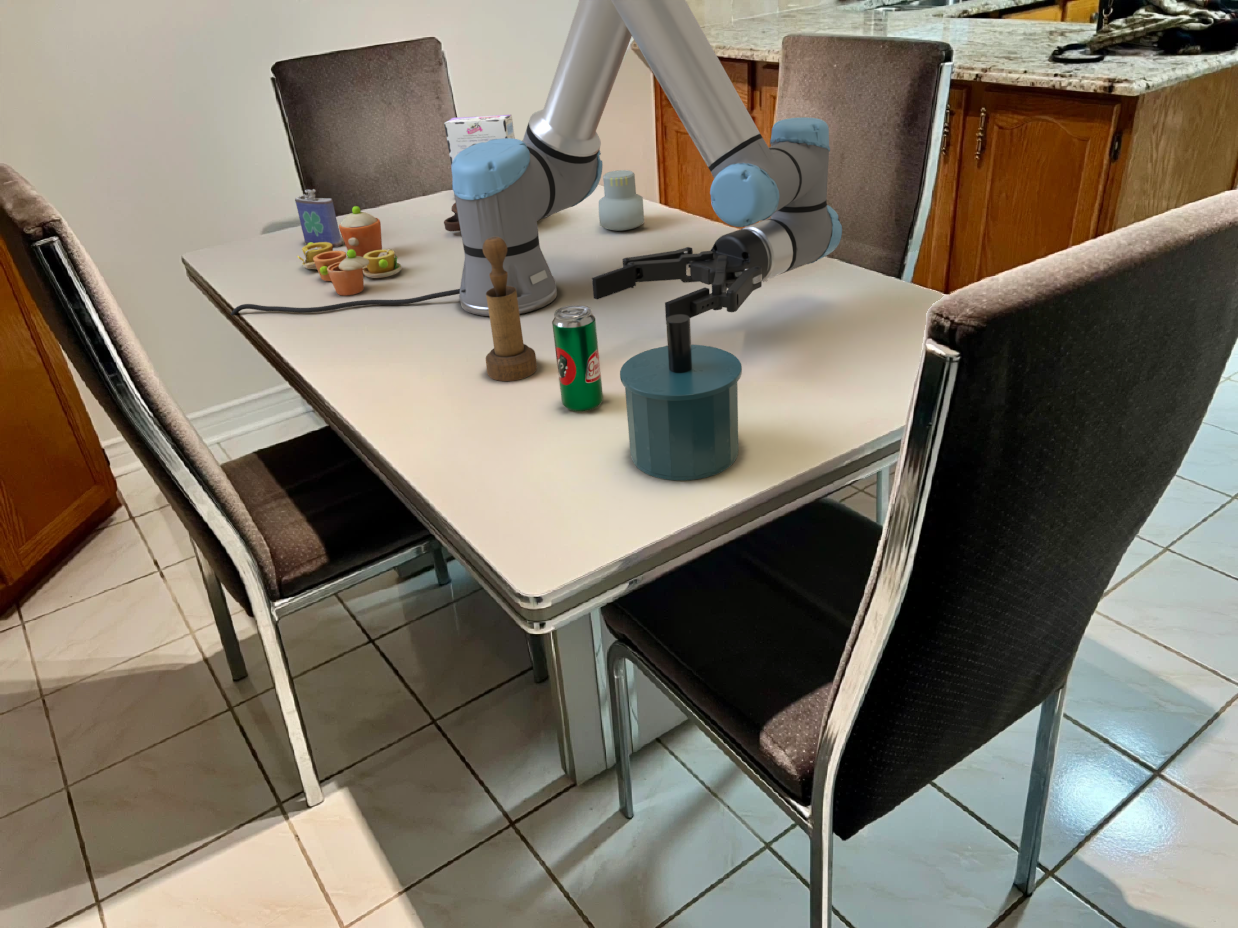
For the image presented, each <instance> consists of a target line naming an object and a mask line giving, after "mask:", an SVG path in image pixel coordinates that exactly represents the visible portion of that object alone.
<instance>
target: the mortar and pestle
mask: <svg viewBox="0 0 1238 928" xmlns="http://www.w3.org/2000/svg"><path fill="white" fill-rule="evenodd" d="M483 253H484V255H485V257H486V258H487V260H488V261H489V262H490V264H491V266H492V271H491V273H490V274H489V276H490V279H491V282H492V284H493V286H494V288H492V289H490V290H488V291H487V292H486V298H487V304H488V310H489V316H488V317H489V321H490V329H491V335H492V343H493V348H491V350H490V351H489V352H488V353H487V354H486V355H485V365H486V366H485V367H486V373H487V375H488V377H489V378H490V379H492V380H495V381H501V382H511V381H520V380H522V379H523V380H524V379H526V378H528V377H530V376H532V375H533V374H535V373H536V372H537V370H538V362H537V355H536V351H535V350H534V349H533V348H532V347H530V346H528V345H527V344H525V343H524V337H523V329H522V324H521V316H520V315H521V314H519V307H518V300H517V292H516V288H514V287H512V286H506V285H507V276H508V274H507V271H505V270H504V269H503V262H504V259H505V257H506V254H507V245H506V243H505V241H504V240H503V239H502V238H500V237H491V238H488V239H487V240H485V242H484V244H483Z"/></svg>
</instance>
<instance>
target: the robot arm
mask: <svg viewBox="0 0 1238 928" xmlns="http://www.w3.org/2000/svg"><path fill="white" fill-rule="evenodd" d="M631 39H633V40H634V42H635V44H636V46H637V48H638V49H639V51H640V53H641V54H642V56H643V58H644V60H645V61H646V63H647V65H648V67H649V68H650V70H651V71H652V74H653V75H654V77H655V79H656V81H657V82H658V84H659V86H660V87H661V89H662V90H663V92H664V94H665V95H666V98H667V99H668V101H669V102H670V104H671V107H673V110H674V111H675V113H676V114H677V117H678V118H679V120H680V121H681V124H682V125H683V127H684V128H685V130H686V132H687V134H688V135H689V137H690V139H691V140H692V143H693V144H694V146H695V147H696V149H697V151H698V153H699V154H700V156H701V157H702V159H703V161H704V163H705V165H706V166H707V168H708V170H709V172H710V173H711V176H712V178H713V181H712V182H711V185H710V191H709V194H710V202H711V204H710V205H711V207H712V210H713V211H714V213H715V215H716V216H717V217H718V218H719V219H720V220H721V221H722V222H724V223H725V224H727V225H729V226H731V227H735V228H740V229H737V230H734V231H731V232H728V233H725V234H723V235H721V236H719V238H717V239H716V240H715V242H714V244H713V245H712V247H711V249H710V250H701V251H700V252H699V253H694V252H693V251H694V249H693V247H690V246H687V247H683V248H679V249H676V250H671V251H664V252H657V253H650V254H643V255H636V256H628V257H624V258H622V267H619V268H617V269H614V270H611V271H608V272H606V273H602V274H599V275H596V276H593V277H592V278H591V283H592V295H593V299H595V300H597V301H598V300H601V299H603V298H606V297H609V296H612V295H614V294H617V293H620V292H623V291H626V290H629V289H634V287H636V286H637V283H648V282H660V281H676V280H677V281H678V280H680V281H681V282H682V283H685V284H687V283H702V284H705V285H708V286H710V285H711V292H710V288H709V287H706V286H705V287H701V288H699V289H697V290H694V291H692V292H689V293H687V294H684V295H681V296H678V297H676V298H673V299H671V300H668V301H666V302H664V311H665V312H664V313H665V320H666V319H667V318H668V317H669V316H672V315H677V314H682V315H687V316H689V317H690V319H691V318H694V317H696V316H698V315H701V314H704V313H706V312H709V311H711V310H713V311H722V309H723V308H726V312H728V313H735V312H737V311H738V310H739V308H741V306H742V305H743V304H744V302H746V300H747V299H748V298H749V296H750V295H751V294H752V293H753V292H754V291H756V290H758V289H760V288H762V286H763V284H762V283H767V282H768V281H769V279H772V278H775V277H777V276H780V275H782V274H785V273H786V272H787V273H788V272H790V271H793V270H795V269H798V268H800V267H803V266H806V265H809V264H814V263H815V262H818V261H819V260H821V259H823V258H825V257H827V256H828V255H830V254H831V253H833V252H834V251H835V250H836V249H837V248H838V247H839V244H840V242H841V240H842V235H843V226H842V225H843V224H841V222H840V219H839V214H838V213H837V212H836V210H835V209H834V208H833V207H831V206H830V205H828V199H827V198H828V181H829V179H828V178H829V160H830V152H831V147H830V128H829V125H828V123H827V121H825V120H823V119H821V118H817V117H807V116H806V117H803V116H802V117H790V118H783V119H781V120H778V121H776V122H775V123H774V124H773V126H772V128H771V137H770V140H769V141H770V142H769V145H770V146H769V145H768V144H767V142H766V140H765V139H764V137H763V136H762V134H761V132H760V130H759V129H758V127H757V125H756V123H755V122H754V120H753V118H752V115H750V113H749V111H748V109H747V107H746V105H745V104H744V102H743V101H742V99H741V97H740V95H739V93H738V91H737V90H736V88H735V86H734V83H732V80H731V79H730V77H729V75H728V74H727V71H726V70H725V68H724V66H723V64H722V62H721V60H720V59H719V57H718V56H717V54H716V52H715V50H714V48H713V46H712V44H711V43H710V42H709V39H708V38H707V36H706V34H705V32H704V31H703V29H702V27H701V26H700V24H699V22H698V20H697V18H696V16H695V15H694V13H693V11H692V9H691V7H690V6H689V4H688V2H687V0H578V2H577V5H576V8H575V12H574V15H573V18H572V21H571V24H570V26H569V30H568V33H567V36H566V39H565V43H564V45H563V48H562V51H561V55H560V57H559V60H558V63H557V66H556V69H555V72H554V76H553V79H552V81H551V85H550V88H549V91H548V94H547V97H546V99H545V103H544V106H543V109H540V110H537V111H535V112H534V113H532V114H531V115H530V117H529V120H528V123H527V125H526V129H525V132H524V135H523V138H522V140H521V139H518V138H515V139H512V138H503V139H494V140H489V141H488V142H481V143H478V144H475V145H472V146H470V147H468V148H466V149H464V150H462V151H461V152H460V153H458V154H457V155H456V157H455V158H454V160H453V162H452V167H451V178H452V181H451V183H452V184H451V187H452V192H453V194H454V195H453V196H454V200H455V203H456V207H457V212H458V218H459V224H460V229H461V231H460V235H461V240H462V241H461V242H462V246H463V252H464V261H463V267H462V272H461V273H462V274H461V279H460V287H459V288H457V289H456V288H455V289H450V290H445V291H439V292H434V293H430V294H425V295H421V296H416V297H412V298H402V299H401V298H399V299H362V300H353V301H346V302H340V303H335V304H330V305H324V306H313V307H312V306H311V307H293V306H292V307H291V306H275V305H260V304H254V303H244V304H240V305H237V306H235V308H233V310H232V311H231V312H230V316H236V315H237V314H238V313H239V312H241V311H243V310H255V311H261V312H283V313H297V314H298V313H299V314H310V313H320V312H321V313H322V312H328V311H335V310H340V309H346V308H351V307H352V308H353V307H360V306H376V305H378V306H379V305H381V306H396V305H397V306H399V305H400V306H401V305H410V304H417V303H422V302H425V301H430V300H435V299H440V298H444V297H445V298H446V297H450V296H456V295H459V301H460V306H461V309H462V310H464V311H466V312H467V313H470V314H473V315H478V316H482V317H490V316H489V310H488V304H487V298H486V292H487V291H488V290H490V289H492V288H494V286H493V284H492V282H491V279H490V276H489V274H490V273H491V271H492V266H491V264H490V262H489V261H488V260H487V258H486V257H485V255H484V253H483V244H484V242H485V240H487V239H488V238H491V237H500V238H502V239H503V240H504V241H505V243H506V245H507V254H506V257H505V259H504V262H503V269H504V270H505V271H507V274H508V276H507V285H506V286H512V287H514V288H516V292H517V300H518V307H519V315H521V314H525V313H529V312H533V311H536V310H539V309H541V308H543V307H546V306H547V305H550V303H552V302H553V301H555V299H556V298H557V296H558V291H557V289H558V288H557V283H556V280H555V277H554V276H553V273H552V271H551V269H550V267H549V264H548V262H547V260H546V258H545V256H544V254H543V251H542V249H541V244H540V238H539V229H538V221H540V220H542V219H545V218H547V217H549V216H552V215H554V214H557V213H559V212H562V211H564V210H567V209H569V208H573V207H575V206H577V205H579V204H580V203H582V202H583V201H584V200H585V199H587V198H588V197H590V196H591V195H592V194H593V193H594V192H595V190H597V187H598V185H599V183H600V181H601V178H602V174H603V160H601V158H600V156H601V154H602V152H601V150H600V149H601V145H602V143H601V139H600V135H599V134H598V132H597V129H598V127H599V124H600V121H601V118H602V116H603V114H604V111H605V108H606V105H607V103H608V100H609V97H610V95H611V93H612V90H613V87H614V84H615V82H616V79H617V76H618V74H619V71H620V68H621V67H622V64H623V61H624V58H625V55H626V52H627V50H628V48H629V44H630V42H631ZM687 270H689V272H690V273H689V275H688V274H687Z"/></svg>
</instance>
